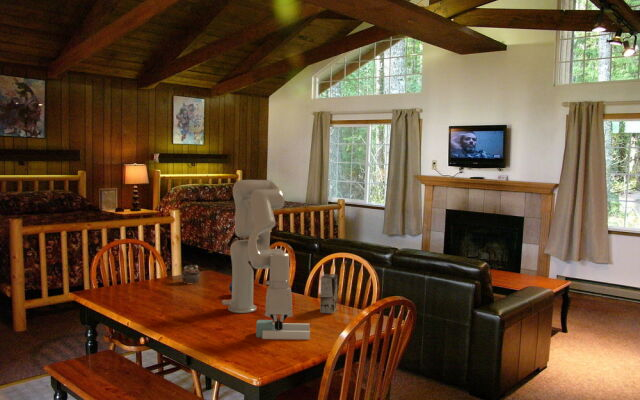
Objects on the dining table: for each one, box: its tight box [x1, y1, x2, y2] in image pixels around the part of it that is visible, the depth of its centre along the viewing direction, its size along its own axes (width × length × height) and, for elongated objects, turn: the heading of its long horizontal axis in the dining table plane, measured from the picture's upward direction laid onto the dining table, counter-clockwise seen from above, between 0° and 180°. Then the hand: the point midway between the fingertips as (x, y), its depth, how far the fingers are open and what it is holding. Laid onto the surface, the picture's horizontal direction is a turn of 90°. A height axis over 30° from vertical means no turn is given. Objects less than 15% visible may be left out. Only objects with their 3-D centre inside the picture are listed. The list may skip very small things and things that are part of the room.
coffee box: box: [319, 273, 339, 315], centre depth 245 cm, size 9×6×16 cm
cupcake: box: [181, 263, 200, 283], centre depth 295 cm, size 10×10×10 cm
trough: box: [261, 322, 311, 341], centre depth 210 cm, size 18×10×3 cm, turn 92°
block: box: [255, 319, 274, 338], centre depth 210 cm, size 6×6×5 cm
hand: (278, 330), depth 210 cm, fingers closed
